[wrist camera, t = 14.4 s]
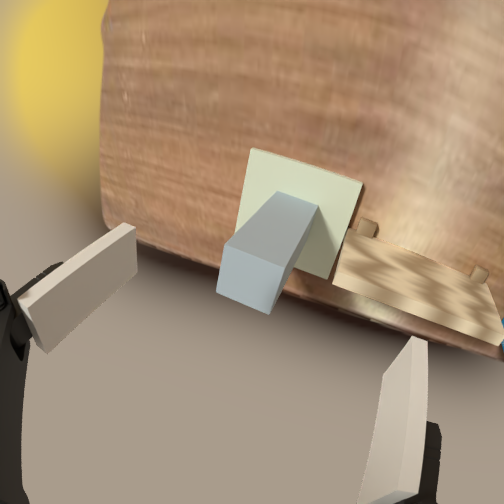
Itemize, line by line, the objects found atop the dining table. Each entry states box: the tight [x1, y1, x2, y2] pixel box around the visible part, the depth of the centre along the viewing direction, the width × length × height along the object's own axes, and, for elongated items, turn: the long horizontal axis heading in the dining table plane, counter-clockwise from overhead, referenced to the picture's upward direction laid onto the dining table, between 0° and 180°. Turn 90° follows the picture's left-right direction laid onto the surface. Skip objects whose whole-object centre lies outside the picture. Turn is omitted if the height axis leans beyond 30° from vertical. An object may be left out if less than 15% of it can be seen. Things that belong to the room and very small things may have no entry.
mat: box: [235, 148, 363, 279], centre depth 37 cm, size 13×13×1 cm
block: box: [216, 191, 318, 314], centre depth 31 cm, size 5×5×14 cm
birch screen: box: [332, 217, 504, 346], centre depth 30 cm, size 20×5×10 cm, turn 78°
